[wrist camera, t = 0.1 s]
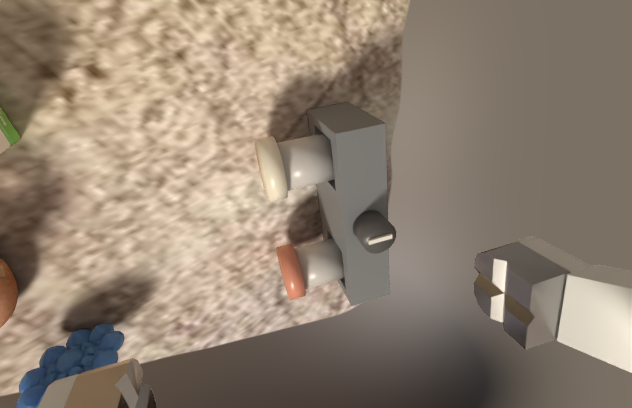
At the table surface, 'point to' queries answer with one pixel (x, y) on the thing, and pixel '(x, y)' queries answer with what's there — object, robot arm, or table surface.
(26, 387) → the grapes
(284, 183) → the cream knob
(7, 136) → the ink box
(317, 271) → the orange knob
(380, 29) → the table surface
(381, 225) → the pot dial
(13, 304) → the ceramic jug
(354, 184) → the mount
